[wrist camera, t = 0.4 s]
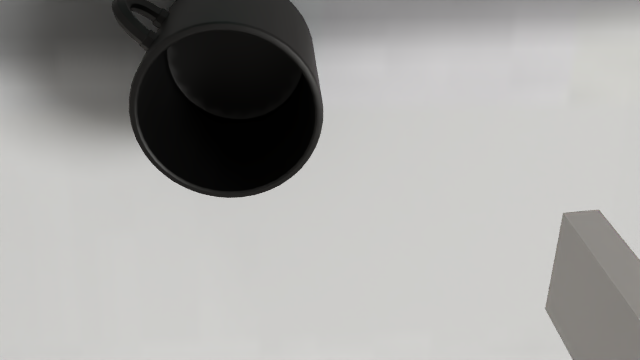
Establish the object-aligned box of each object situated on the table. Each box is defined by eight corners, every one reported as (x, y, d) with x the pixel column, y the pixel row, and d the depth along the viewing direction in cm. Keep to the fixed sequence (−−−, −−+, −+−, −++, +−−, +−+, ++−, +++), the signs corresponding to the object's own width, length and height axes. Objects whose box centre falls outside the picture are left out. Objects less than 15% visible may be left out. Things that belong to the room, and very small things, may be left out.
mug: (180, -93, 33) (151, -63, 25) (344, 44, 38) (363, 104, 30) (90, 38, 36) (41, 100, 29) (251, 149, 41) (246, 228, 33)
